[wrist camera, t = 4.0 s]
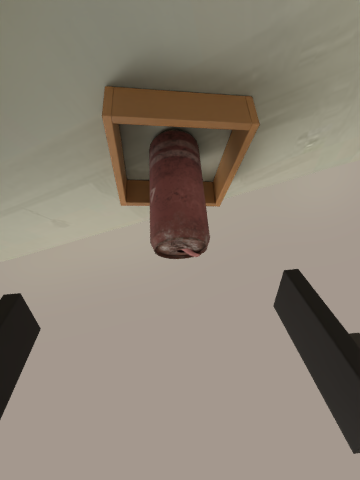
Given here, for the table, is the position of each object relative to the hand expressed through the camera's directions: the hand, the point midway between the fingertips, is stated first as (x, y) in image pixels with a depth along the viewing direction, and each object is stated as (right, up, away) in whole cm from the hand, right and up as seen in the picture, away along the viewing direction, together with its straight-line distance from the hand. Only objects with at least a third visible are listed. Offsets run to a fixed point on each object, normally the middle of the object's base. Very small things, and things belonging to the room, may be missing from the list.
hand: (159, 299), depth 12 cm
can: (0, +15, +18) cm, 23 cm away
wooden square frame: (0, +15, +17) cm, 23 cm away
